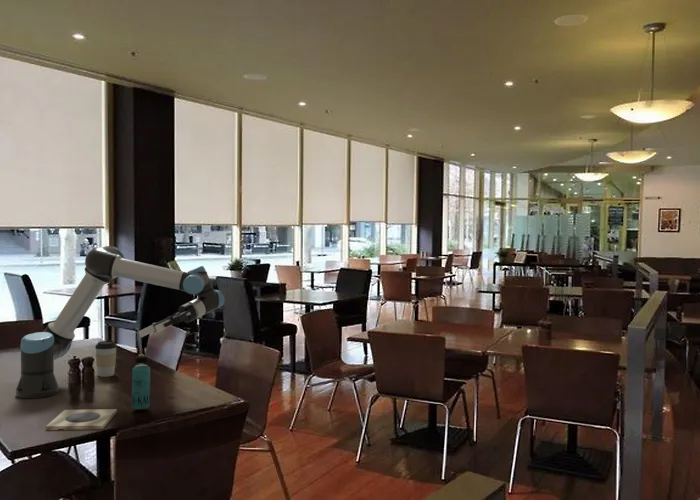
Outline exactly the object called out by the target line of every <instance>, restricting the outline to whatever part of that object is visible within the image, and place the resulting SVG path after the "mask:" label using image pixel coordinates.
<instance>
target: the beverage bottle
mask: <svg viewBox="0 0 700 500" xmlns="http://www.w3.org/2000/svg"><path fill="white" fill-rule="evenodd" d="M135 363H136V365H135V366H134V367H132V369H131V370H132V379H131V408H132V409H136V410H140V409H141V410H142V409H147V408H149V407H150V405H151V404H150V403H151V368H150V366H148V365H147V364H146V363H148V356H146V355H144V356H143V355H140V356H139V355H138V356H136V357H135ZM138 363H142V365H138ZM143 363H144V364H143Z"/></svg>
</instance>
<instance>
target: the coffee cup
mask: <svg viewBox="0 0 700 500" xmlns="http://www.w3.org/2000/svg"><path fill="white" fill-rule="evenodd" d="M117 347H118V346H117V343H115V341H114V340H113V339H112V340H111V339H108V340H106V341H105V340H103V341H99V342H97V344H95V347H94V348H95V361H96V362H95V363H96V370H97V376H98V377H102V378H103V377H105V378H106V377H112V376H115V369H116V367H115V366H116V362H117V361H116V359H117Z"/></svg>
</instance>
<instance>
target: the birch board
mask: <svg viewBox="0 0 700 500" xmlns="http://www.w3.org/2000/svg"><path fill="white" fill-rule="evenodd" d="M117 413H118V409H117V408H112V409H111V408H110V409H109V408H107V409H103V408H102V409H99V408H98V409H97V408H96V409H91V408H90V409H64V410H63V411H61V413H59V414H58V415H57V416H56V417H55V418H54V419H52V420H51V421H50V422H49V423H48V424H47V425H46V426H45V430H46V431H58V429H64V430H65V431H67V430H68V429H69V430H104V428H106V425H108V423H109V422H111V420H112V419H113V418H114V416H115V415H116V414H117ZM64 430H63V431H64Z"/></svg>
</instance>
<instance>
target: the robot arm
mask: <svg viewBox="0 0 700 500" xmlns="http://www.w3.org/2000/svg"><path fill="white" fill-rule="evenodd" d="M84 264H85V267H84V272H85V275H84V276H83V277H82V279H81V281H80V282H79V283H78V285H77V287H76V288H75V290H74V291H73V293H72V294H71V296H70V297H69V298H68V300H67V302H66V304H65V306H64V307H63V308H62V310H61V311H60V312H59V314H58V315H57V317H56V319H55V320H54V321H51V322H49V323H47V325H46V327H45V329H44V330H43V331H41V332H39V331H38V332H33V333H29V334H25V335H24V336H23V337H22V338H21V341H20V346H19V347H20V377H19V379H18V382H17V383H18V384H17V386H16V389H15V397H17V398H19V399H29V400H30V399H40V398H41V399H42V398H48V397H51V396H52V397H53V396H54V395H56V394H58V393H59V383H58V381H57V378H56V374H55V360H57V359H59V358H62V357H64V356H65V355H66V354H67V353H68V352H69V350H70V349H71V346H72V343H73V340H74V339H75V337H76V335H75V330H76V329H77V328H78V326H79V324H80V323H81V321H82V320H83V318H84V317H85V315H86V313H87V312H88V310H89V309H90V308H91V306H92V304H93V303H94V302H95V299H96V298H97V297H98V295H99V294H100V292H101V290H102V289H103V288H104V286H106V285H108V284H111V282H112V281H113V280H114V279H116V278H124V279H127V280H132V281H137V282H141V283H145V284H151V285H154V286H159V287H164V288H169V289H174V290H179V291H182V292H185V293H187V294H189V295H195V296H197V298H195V299H192V300H191V301H188V302H186V303H184V304H182V305H180V306H179V307H178V311H177V312H174V313H173V314H172V315H169V316H167V317H166V318H164V319H162V320H159V321H158V322H155V323H153V324H152V323H151V324H150V325H149V326H147V327H144V328H143V329H141V330H138V335H139V338H144V337H146V336H147V335H150V334H152V333H161V332H162V331H164V330H166V329H169V328H170V327H173V326H174V325H176V324H177V325H178V324H179V323H182V322H184V323H187V324H189V323H191V322H193V321H195V320H196V319H199V318H200V319H202V318H203V316H205V315H207V314H209V313H212V312H214V311H216V310H217V309H220V308H221V307H222V306H223V305H224V304H225V302H226V301H225V296H224V294H223V293H222V291H220V290H219V289H215V288H214V287H213V284H212V282H211V279H210V277H209V275H208V271H207V270H206V269H205V267H204V266H203V265H199V266H198V267H195V268H194V269H190V270H188V272H186V271H181V270H178V269H177V270H176V269H172V268H168V267H163V266H159V265H155V264H151V263H150V264H149V263H145V262H141V261H136V260H133V259H127V258H126V257H125V255H124V253H123V252H122V250H121V249H119V248H118V247H116V246H112V245H106V246H102V247H101V246H100V247H95V248H92V249H91V250H90V251H88V253H87V254H86V256H85V259H84Z"/></svg>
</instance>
